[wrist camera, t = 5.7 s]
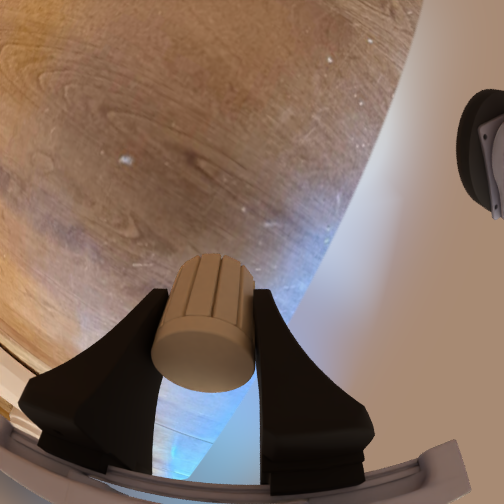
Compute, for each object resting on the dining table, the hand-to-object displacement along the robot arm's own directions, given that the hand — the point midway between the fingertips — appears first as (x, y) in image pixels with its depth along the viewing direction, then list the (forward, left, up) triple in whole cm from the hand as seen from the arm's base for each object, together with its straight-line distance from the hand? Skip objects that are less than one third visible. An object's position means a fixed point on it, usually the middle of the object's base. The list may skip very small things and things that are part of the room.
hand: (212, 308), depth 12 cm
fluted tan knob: (0, 0, -1) cm, 1 cm away
